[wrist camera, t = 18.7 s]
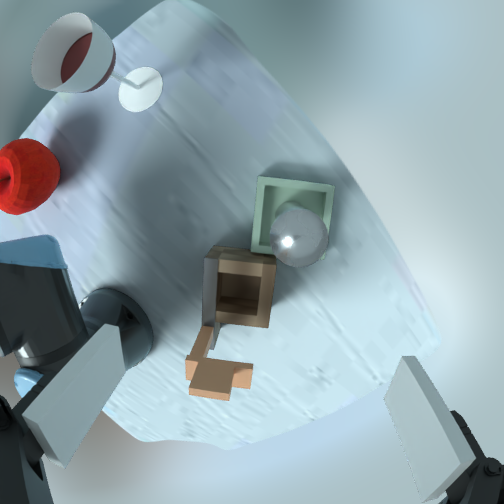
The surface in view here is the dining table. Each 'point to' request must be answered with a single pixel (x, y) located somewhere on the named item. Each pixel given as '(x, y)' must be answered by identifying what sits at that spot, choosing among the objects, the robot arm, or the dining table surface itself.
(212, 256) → the block
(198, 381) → the keeper
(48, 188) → the apple
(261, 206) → the dish
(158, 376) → the dining table surface
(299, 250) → the pin
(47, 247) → the robot arm
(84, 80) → the wineglass
